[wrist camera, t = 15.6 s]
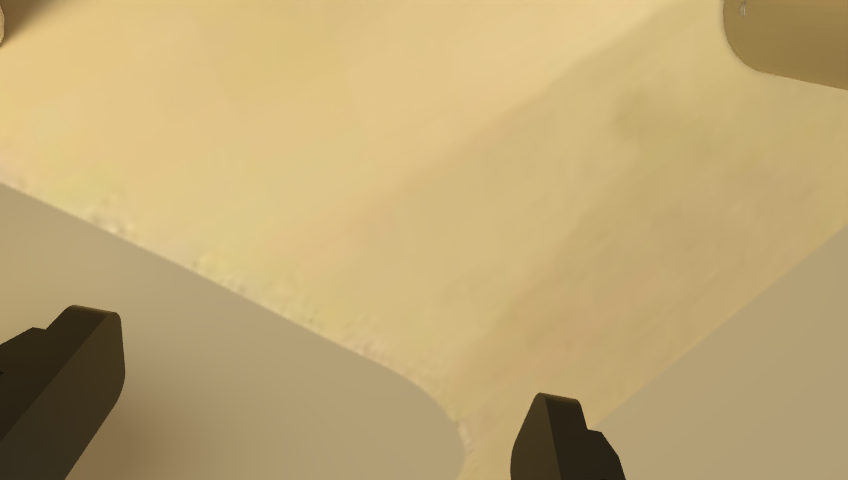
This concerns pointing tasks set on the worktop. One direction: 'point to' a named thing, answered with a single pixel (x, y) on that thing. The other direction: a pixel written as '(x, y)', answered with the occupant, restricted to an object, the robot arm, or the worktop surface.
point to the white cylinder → (1, 24)
